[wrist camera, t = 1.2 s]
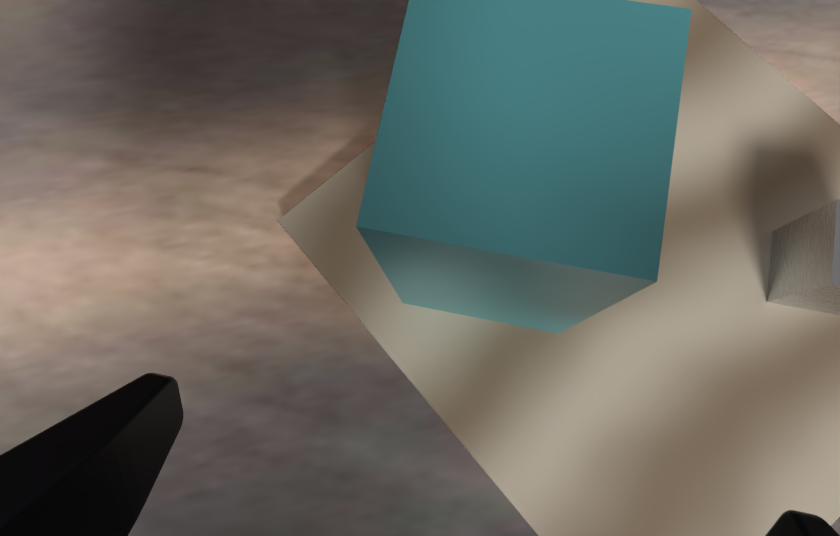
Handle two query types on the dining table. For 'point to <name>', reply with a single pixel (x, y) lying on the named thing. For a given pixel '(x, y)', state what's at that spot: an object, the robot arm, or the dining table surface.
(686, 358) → the thin wavy beige sheet
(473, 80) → the upright teal box
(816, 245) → the block
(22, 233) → the dining table surface
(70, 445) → the robot arm
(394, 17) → the dining table surface
